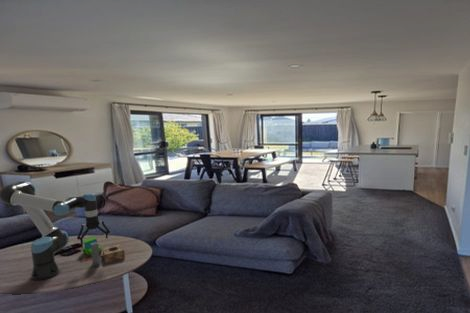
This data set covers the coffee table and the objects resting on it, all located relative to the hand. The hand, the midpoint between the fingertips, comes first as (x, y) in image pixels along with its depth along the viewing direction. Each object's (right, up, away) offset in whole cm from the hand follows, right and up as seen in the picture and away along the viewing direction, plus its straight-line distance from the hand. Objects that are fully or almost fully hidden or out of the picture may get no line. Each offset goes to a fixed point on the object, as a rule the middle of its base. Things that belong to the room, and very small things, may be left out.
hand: (95, 245), depth 202 cm
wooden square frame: (+8, -12, +12) cm, 19 cm away
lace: (-7, -12, +12) cm, 18 cm away
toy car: (-11, -12, +19) cm, 25 cm away
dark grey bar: (0, -13, +2) cm, 13 cm away
